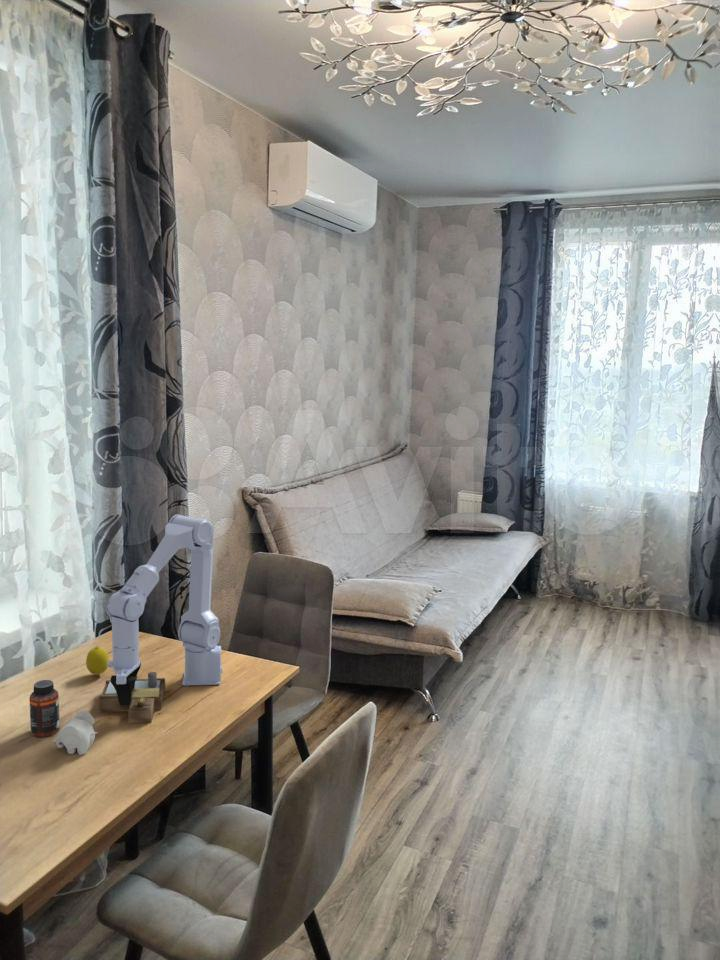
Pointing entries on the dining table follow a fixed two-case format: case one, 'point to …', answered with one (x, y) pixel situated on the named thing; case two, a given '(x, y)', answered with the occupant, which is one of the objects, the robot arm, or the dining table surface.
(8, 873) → the dining table surface
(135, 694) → the lever
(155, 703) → the case
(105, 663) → the lemon
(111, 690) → the lid
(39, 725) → the supplement bottle
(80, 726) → the elephant figurine
